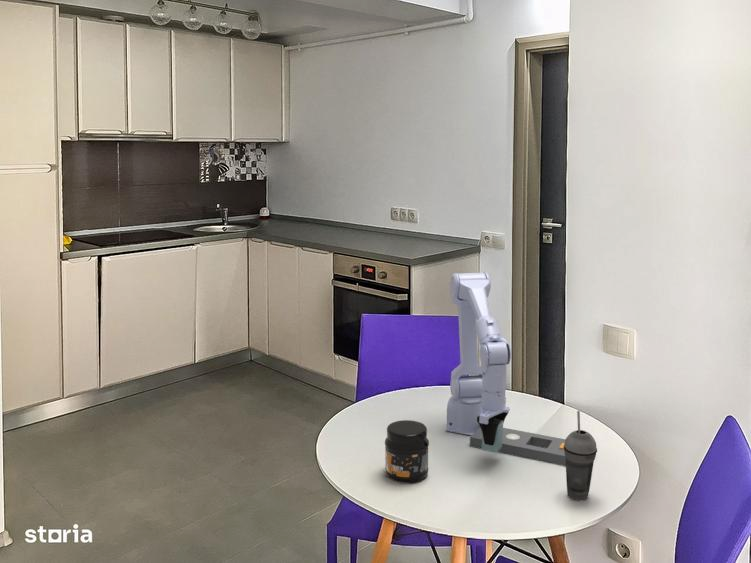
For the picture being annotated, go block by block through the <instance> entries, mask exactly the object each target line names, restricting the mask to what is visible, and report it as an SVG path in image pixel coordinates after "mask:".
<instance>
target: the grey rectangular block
mask: <svg viewBox="0 0 751 563" xmlns="http://www.w3.org/2000/svg"><path fill="white" fill-rule="evenodd" d="M496 420H497V419H496ZM503 428H504V423H503V420H501V422H500V423H499V425H498V428H497V431H496V436H495V441H494V444H493V445H487V444H485V442H484V438H483V434H482V448H481V451H486V452H491V453H495V454H498V453H499V452H498V451H499V450H500V449H501V448H502V438H503Z"/></svg>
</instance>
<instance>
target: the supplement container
mask: <svg viewBox="0 0 751 563" xmlns="http://www.w3.org/2000/svg"><path fill="white" fill-rule="evenodd" d="M427 436H428V428H427V426H426V425H425V424H424V423H422V422H419V421H416V420H410V419H409V420H407V419H406V420H405V419H403V420H397V421H393V422H391V423H389V424H388V425H387V427H386V438H385V440H384V445H385V447H384V448H385V450H384V451H385V458H384V459H385V464H384V465H385V466H384V471H385V474H386V476H388V478H390V479H391V480H393V481H395V482H399V483H403V482H404V483H405V484H406V483H407V484H408V483H409V484H410V483H416V482H419V481H421V480H423V479H425V478H426V477H427V475H428V474H429V446H430V441H429V438H428V437H427Z"/></svg>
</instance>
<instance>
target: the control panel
mask: <svg viewBox="0 0 751 563" xmlns="http://www.w3.org/2000/svg"><path fill="white" fill-rule="evenodd" d="M565 440H566V438H560V437H556V436H549V435H544V434H539V433H534V432H529V431H525V430H524V431H522V430H519V429H518V430H517V429H514V428H513V429H511V428H506V427H503V438H502V448H501V449H500V450H499V451H498V452H497V453H501V454H506V455H507V454H508V455H512V456H516V457H521V458H527V459H531V460H537V461H542V462H545V463H551V464H556V465H561V466H565V467H566V457H565V453H564V444H565ZM469 447H472V448H473V447H474V448H478V449H482V430H481V427H479V428H478V429H477V430H476V431H475V432H474V434H473V435H472V436H471V435H470V437H469Z"/></svg>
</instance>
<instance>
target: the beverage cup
mask: <svg viewBox="0 0 751 563" xmlns="http://www.w3.org/2000/svg"><path fill="white" fill-rule="evenodd" d="M576 412H577V415H576V416H577V430H574V431H572V432H570V433H568V435H567V436H566V438H565V439H566V440H565V444H564V453H565V457H566V466H565V473H566V474H565V478H566V492H567V494H566V496H567V497H568V498H569V499H571V500H573V501H577V502H584V501H586V500H588V499H589V494H590V489H591V482H592V476H593V471H594V470H593V469H594V461H595V460H596V455H597V453H598V448H597V443H596V440H595V438H594V436H592V434H591V433H590V432H588V431H586V430H583V429H581V416H580V410H577V411H576Z"/></svg>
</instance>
